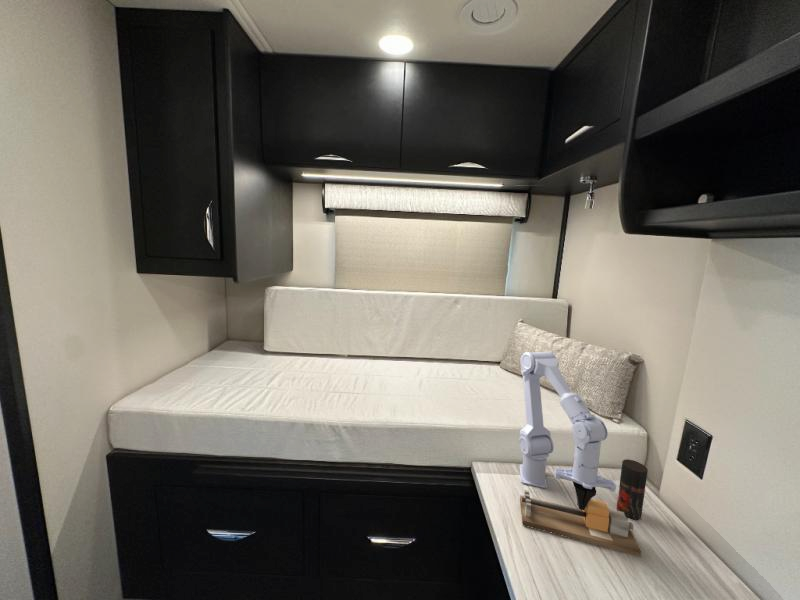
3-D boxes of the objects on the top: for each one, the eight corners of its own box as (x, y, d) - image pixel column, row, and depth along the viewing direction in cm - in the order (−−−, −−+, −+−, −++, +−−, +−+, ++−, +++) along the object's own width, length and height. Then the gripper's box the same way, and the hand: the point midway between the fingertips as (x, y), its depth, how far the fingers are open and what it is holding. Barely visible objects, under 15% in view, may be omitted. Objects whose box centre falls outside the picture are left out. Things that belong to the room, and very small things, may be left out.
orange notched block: (582, 515, 87) (584, 496, 87) (602, 520, 86) (605, 501, 85) (586, 527, 84) (588, 506, 83) (607, 532, 82) (610, 511, 81)
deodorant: (645, 522, 88) (652, 474, 87) (622, 518, 90) (628, 470, 88) (634, 506, 94) (640, 461, 92) (612, 503, 95) (618, 458, 94)
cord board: (519, 499, 95) (521, 481, 95) (624, 525, 87) (627, 505, 86) (522, 525, 86) (524, 505, 85) (640, 556, 78) (643, 535, 77)
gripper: (559, 464, 82) (554, 510, 84) (622, 477, 78) (616, 526, 79) (554, 449, 89) (550, 493, 90) (612, 461, 85) (607, 506, 86)
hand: (580, 507), depth 85 cm, fingers closed
